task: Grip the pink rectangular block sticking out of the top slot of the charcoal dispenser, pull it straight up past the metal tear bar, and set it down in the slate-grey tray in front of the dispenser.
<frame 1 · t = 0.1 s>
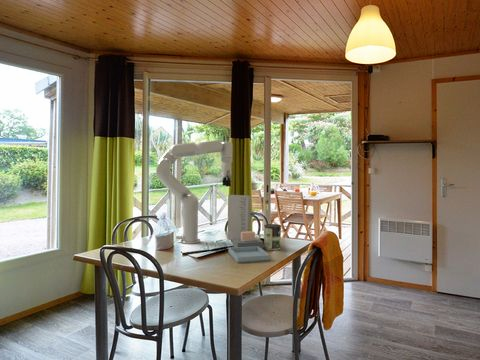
hand: (226, 185, 225), 37 cm above the table, tool pointing down, fingers open, 9 cm apart
pink rectangular block: (247, 240, 205), in the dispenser
tray: (248, 256, 187), on the table
tall white slab: (238, 239, 229), on the table
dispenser: (247, 248, 206), on the table
coffee can: (272, 248, 207), on the table
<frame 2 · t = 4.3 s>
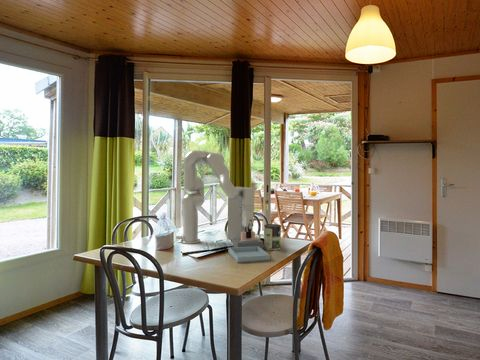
hand: (247, 237, 205), 7 cm above the table, tool pointing down, fingers closed on pink rectangular block, 2 cm apart
pink rectangular block: (247, 240, 205), in the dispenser, touching gripper
everything else where it was.
when the fingers open (8 cm above the table, at t = 12.1 s): pink rectangular block drops 3 cm, resting on tray.
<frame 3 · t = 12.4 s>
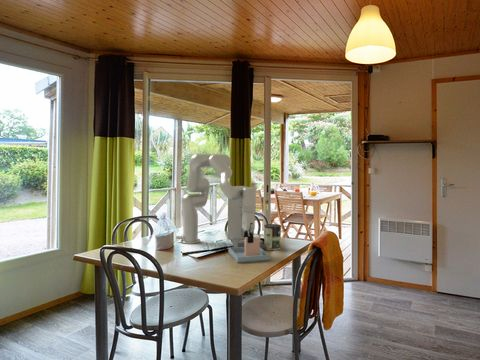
hand: (248, 241, 186), 9 cm above the table, tool pointing down, fingers open, 6 cm apart
pink rectangular block: (252, 246, 187), in the tray, point 6 cm above the table
everything else where it was.
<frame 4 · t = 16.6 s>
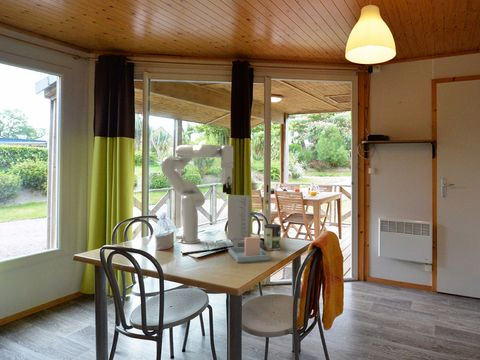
hand: (226, 193, 206), 33 cm above the table, tool pointing down, fingers open, 9 cm apart
nothing on the table moved.
at the end: pink rectangular block inside the target area on the tray (2.1 cm from its centre), point 5.6 cm above the tray's base; the gripper is holding nothing; pink rectangular block moved 18.3 cm from its start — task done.
